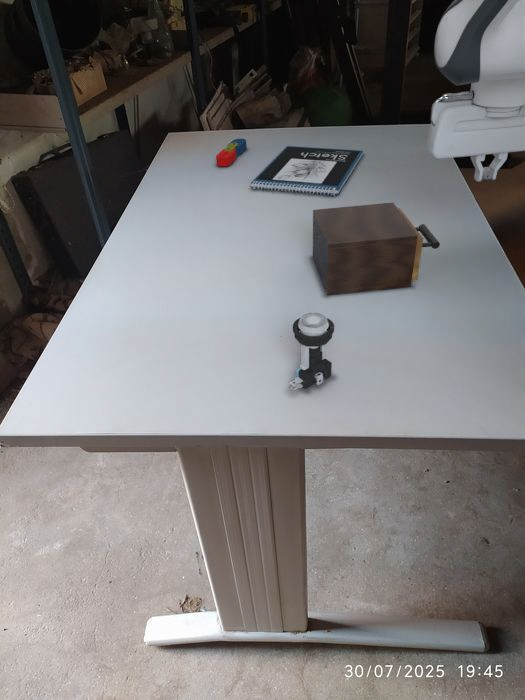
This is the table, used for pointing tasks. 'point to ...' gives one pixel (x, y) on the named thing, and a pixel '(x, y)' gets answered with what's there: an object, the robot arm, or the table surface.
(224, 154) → the multicolored plastic bar
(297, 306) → the table surface
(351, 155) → the sketchbook
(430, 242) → the wooden pull-out drawer
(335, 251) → the wooden drawer box
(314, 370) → the push button
